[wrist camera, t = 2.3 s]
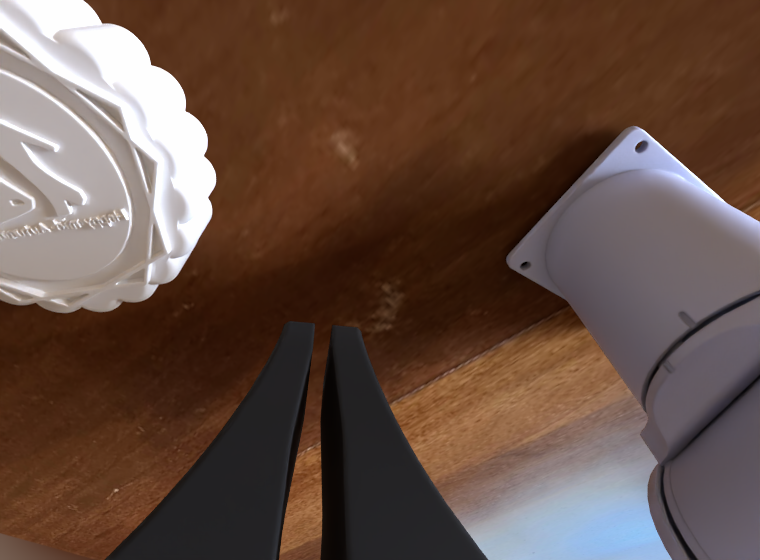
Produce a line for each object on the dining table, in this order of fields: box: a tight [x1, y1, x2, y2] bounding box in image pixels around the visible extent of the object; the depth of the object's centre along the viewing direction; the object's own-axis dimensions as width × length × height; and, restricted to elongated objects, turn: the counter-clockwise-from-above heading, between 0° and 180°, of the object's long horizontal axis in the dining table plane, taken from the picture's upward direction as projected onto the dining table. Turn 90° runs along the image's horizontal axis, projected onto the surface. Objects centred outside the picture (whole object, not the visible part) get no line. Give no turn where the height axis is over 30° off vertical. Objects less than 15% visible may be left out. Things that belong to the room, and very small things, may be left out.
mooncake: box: [0, 0, 216, 313], centre depth 15 cm, size 12×12×4 cm
